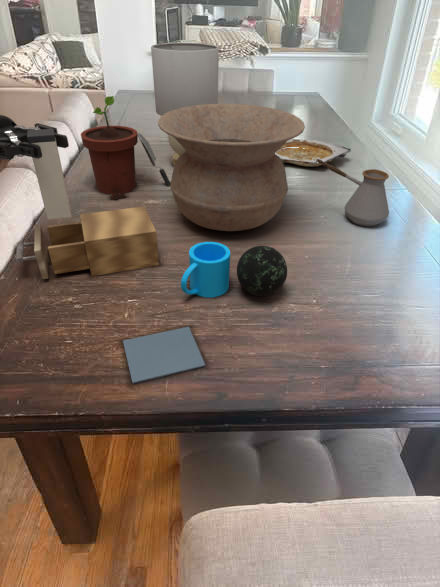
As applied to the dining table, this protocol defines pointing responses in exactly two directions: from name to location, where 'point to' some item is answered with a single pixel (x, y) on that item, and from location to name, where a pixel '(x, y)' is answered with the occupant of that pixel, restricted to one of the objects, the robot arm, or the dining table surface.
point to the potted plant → (115, 156)
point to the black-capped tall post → (50, 174)
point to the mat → (162, 354)
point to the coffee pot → (366, 197)
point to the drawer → (57, 249)
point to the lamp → (184, 79)
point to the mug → (207, 270)
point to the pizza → (310, 152)
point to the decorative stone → (261, 270)
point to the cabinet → (119, 240)
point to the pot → (230, 163)
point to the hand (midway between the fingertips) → (53, 146)
